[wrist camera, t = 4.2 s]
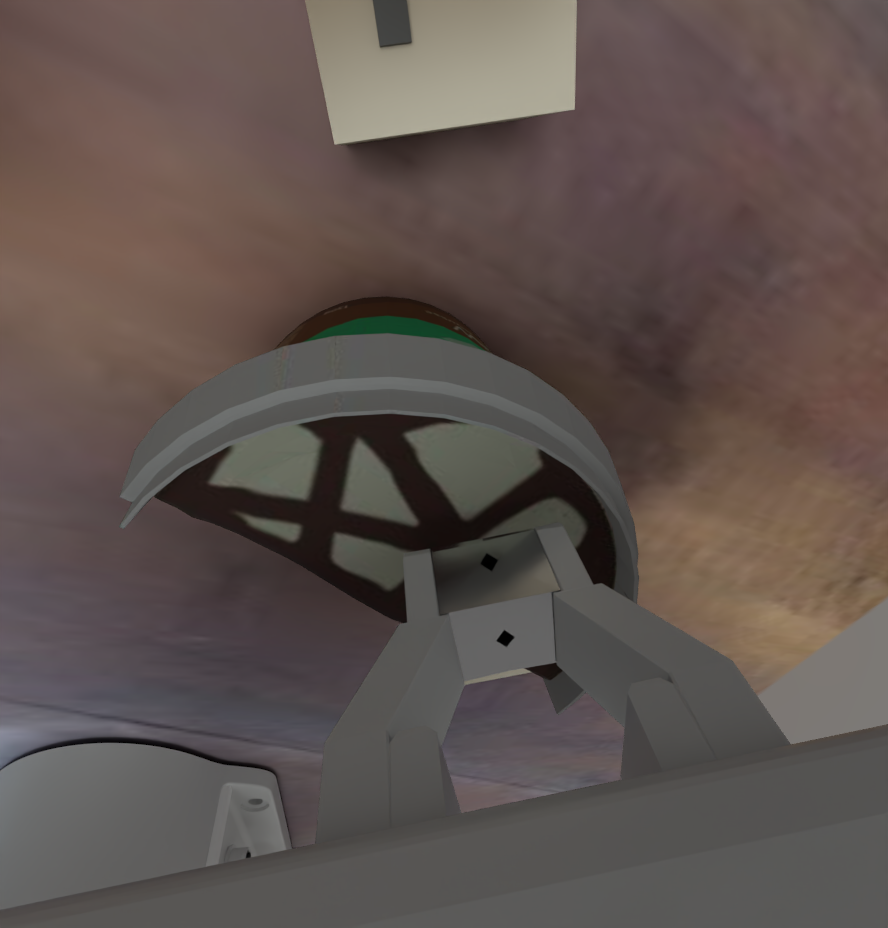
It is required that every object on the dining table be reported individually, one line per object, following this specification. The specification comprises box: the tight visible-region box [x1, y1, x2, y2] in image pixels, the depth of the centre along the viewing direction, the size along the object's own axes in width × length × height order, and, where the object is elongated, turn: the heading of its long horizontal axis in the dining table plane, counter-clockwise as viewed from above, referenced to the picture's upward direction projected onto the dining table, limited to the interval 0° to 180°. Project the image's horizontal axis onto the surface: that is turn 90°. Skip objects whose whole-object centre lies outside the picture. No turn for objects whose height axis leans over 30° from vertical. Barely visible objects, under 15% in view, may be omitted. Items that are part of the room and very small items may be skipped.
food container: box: [119, 297, 639, 715], centre depth 14 cm, size 12×6×10 cm, turn 50°
